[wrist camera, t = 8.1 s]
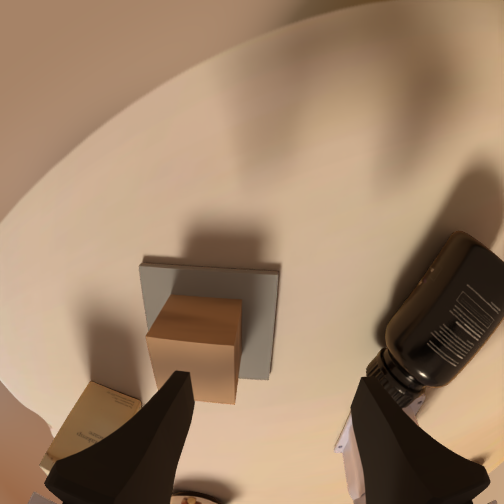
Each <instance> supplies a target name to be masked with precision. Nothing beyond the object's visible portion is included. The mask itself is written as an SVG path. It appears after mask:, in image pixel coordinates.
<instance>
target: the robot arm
mask: <svg viewBox="0 0 504 504" xmlns="http://www.w3.org/2000/svg"><path fill="white" fill-rule="evenodd" d="M425 398H426V396H425V394H422V395H421V396H420V397H419V398H417V399H415V400H414V401H413V402H412V403H411V404H410V405H409V406H407V407H406V408H401V407H400V406H399V405H398V404H397V403H396V402H395V400H394V399H393V398H392V397H391V396H390V394H389V393H388V392H387V391H386V390H385V388H384V387H383V386H382V385H381V383H380V382H379V381H378V380H377V379H376V377H375V376H370V377H361V380H360V383H359V385H358V388H357V391H356V394H355V397H354V399H353V402H352V404H351V412H350V415H349V417H348V419H347V422H346V424H345V426H344V428H343V431H342V433H341V435H340V437H339V439H338V441H337V443H336V445H335V448H334V452H335V453H342V454H343V461H344V467H345V474H346V480H347V487H348V492H349V495H350V497H351V498H352V499H353V501H354V504H473V502H472V499H474V498H475V497H476V496H477V495H479V494H480V493H481V492H482V491H484V490H485V489H486V488H487V487H488V486H489V484H490V479H489V476H488V474H487V471H486V469H485V467H484V466H482V465H479V464H477V463H474V462H472V461H470V460H467V459H465V458H463V457H462V456H460V455H458V454H456V453H454V452H453V451H451V450H449V449H448V448H446V447H445V446H443V445H442V444H440V443H439V442H437V441H436V440H435V439H433V438H432V437H431V436H430V435H428V434H427V433H426V432H425V431H424V430H422V429H421V428H420V427H419V425H418V422H417V420H416V417H415V415H416V414H417V412H418V410H419V409H420V407H421V405H422V404H423V402H424V400H425ZM194 404H195V401H194V395H193V389H192V383H191V376H190V372H186V371H178V370H176V371H174V372H173V373H172V375H171V376H170V377H169V378H168V380H167V381H166V382H165V383H164V385H163V386H162V387H161V388H160V389H159V390H158V392H157V393H156V394H155V395H154V396H153V397H152V398H151V399H150V400H149V401H148V402H147V403H146V404H145V405H144V406H143V407H142V408H141V409H140V410H139V411H138V412H137V413H136V414H135V415H134V416H133V417H132V418H131V419H129V420H128V421H127V422H126V423H125V424H123V425H122V426H121V427H120V428H118V429H117V430H116V431H114V432H113V433H111V434H110V435H108V436H107V437H105V438H104V439H102V440H101V441H99V442H97V443H95V444H94V445H92V446H90V447H88V448H86V449H84V450H82V451H80V452H78V453H76V454H73V455H70V456H68V457H65V458H63V459H60V460H57V461H56V462H55V464H54V465H53V467H52V468H51V470H50V472H49V474H48V476H47V478H46V481H45V483H44V484H45V486H46V487H47V488H48V489H49V491H51V492H52V493H53V494H54V495H55V496H56V497H58V498H59V499H60V500H61V501H63V503H62V504H170V501H171V495H172V489H173V483H174V478H175V473H176V469H177V465H178V461H179V458H180V455H181V452H182V449H183V446H184V443H185V440H186V437H187V434H188V431H189V428H190V424H191V420H192V415H193V410H194ZM28 504H56V503H54V502H53V501H51V500H49V499H47V498H45V497H43V496H42V495H40V494H38V493H36V492H33V494H32V496H31V498H30V500H29V502H28ZM488 504H497V501H496V500H493V501H492V502H490V503H488Z"/></svg>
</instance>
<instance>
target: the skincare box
mask: <svg viewBox="0 0 504 504" xmlns="http://www.w3.org/2000/svg"><path fill="white" fill-rule="evenodd" d="M140 409H141V401H140V400H137V399H135V398H132V397H129V396H127V395H124V394H121V393H119V392H116V391H114V390H111V389H109V388H106V387H104V386H102V385H99V384H97V383H95V382H91V381H90V382H89V384H88V385H87V387H86V388H85V390H84V392H83V393H82V395H81V396H80V398H79V399H78V401H77V402H76V404H75V406H74V407H73V409H72V410H71V412H70V414H69V415H68V417H67V419H66V420H65V422H64V423H63V425H62V427H61V428H60V430H59V432H58V433H57V435H56V437H55V438H54V440H53V442H52V443H51V445H50V447H49V449H48V451H47V452H46V454H45V456H44V457H43V459H42V461H41V463H40V464H39V466H40V467H41V469H42V470H43V471H44V472H45V473H46V475H47V476H48V474H49V472H50V470H51V468H52V467H53V465H54V464H55V462H56V461H57V460H60V459H63V458H65V457H68V456H70V455H73V454H76V453H78V452H80V451H82V450H84V449H86V448H88V447H90V446H92V445H94V444H95V443H97V442H99V441H101V440H102V439H104V438H105V437H107V436H108V435H110V434H111V433H113V432H114V431H116V430H117V429H118V428H120V427H121V426H122V425H123V424H125V423H126V422H127V421H128V420H129V419H131V418H132V417H133V416H134V415H135V414H136V413H137V412H138V411H139V410H140Z"/></svg>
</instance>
